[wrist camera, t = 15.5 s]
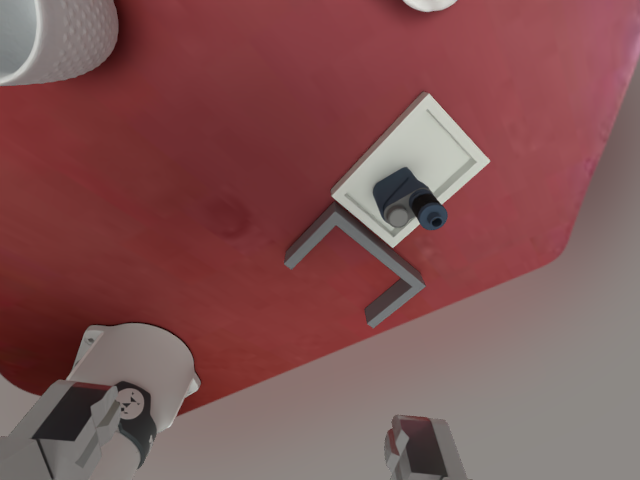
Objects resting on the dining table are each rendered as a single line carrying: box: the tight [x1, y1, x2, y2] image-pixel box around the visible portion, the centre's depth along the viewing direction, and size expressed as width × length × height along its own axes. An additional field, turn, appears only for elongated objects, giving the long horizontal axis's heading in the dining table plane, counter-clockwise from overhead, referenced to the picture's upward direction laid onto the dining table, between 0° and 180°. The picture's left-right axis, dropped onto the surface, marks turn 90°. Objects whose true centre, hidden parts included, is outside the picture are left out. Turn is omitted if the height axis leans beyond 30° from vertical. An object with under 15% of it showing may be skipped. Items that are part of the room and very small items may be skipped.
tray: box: [331, 92, 490, 248], centre depth 37 cm, size 14×10×2 cm
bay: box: [284, 201, 426, 328], centre depth 43 cm, size 9×15×3 cm, turn 49°
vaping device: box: [373, 167, 447, 230], centre depth 33 cm, size 3×5×12 cm, turn 122°
